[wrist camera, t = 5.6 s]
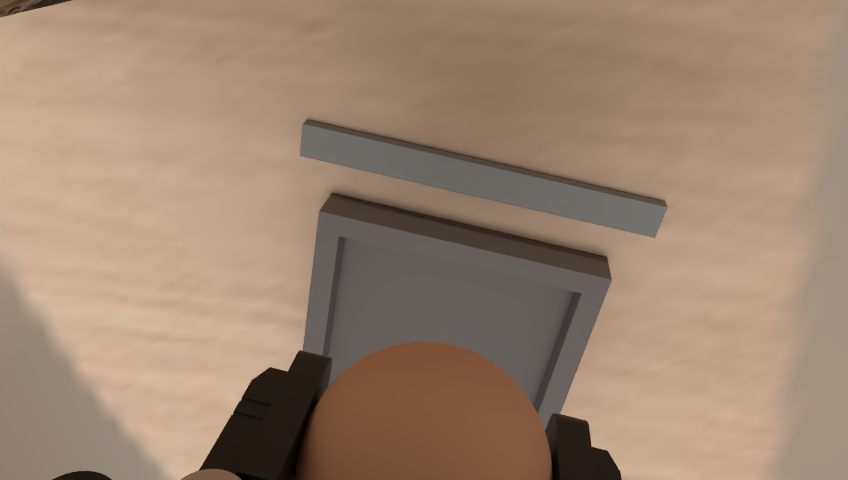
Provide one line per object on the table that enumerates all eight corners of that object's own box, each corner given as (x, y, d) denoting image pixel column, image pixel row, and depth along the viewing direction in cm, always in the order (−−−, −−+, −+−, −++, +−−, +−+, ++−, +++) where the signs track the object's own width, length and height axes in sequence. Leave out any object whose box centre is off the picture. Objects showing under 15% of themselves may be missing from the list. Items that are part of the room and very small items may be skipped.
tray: (331, 193, 30) (319, 211, 29) (606, 257, 30) (611, 279, 28) (305, 399, 37) (293, 425, 35) (532, 455, 36) (532, 484, 34)
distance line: (307, 119, 29) (302, 124, 28) (665, 201, 28) (667, 207, 28) (303, 151, 30) (299, 155, 29) (652, 231, 29) (655, 237, 28)
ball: (348, 272, 14) (268, 436, 10) (576, 326, 14) (600, 518, 10) (321, 440, 16) (246, 634, 12) (517, 488, 16) (513, 704, 12)
